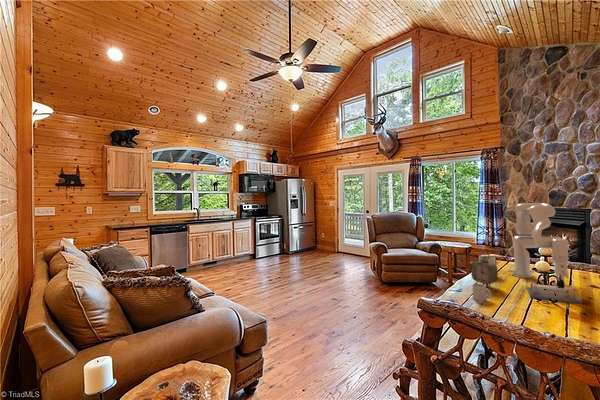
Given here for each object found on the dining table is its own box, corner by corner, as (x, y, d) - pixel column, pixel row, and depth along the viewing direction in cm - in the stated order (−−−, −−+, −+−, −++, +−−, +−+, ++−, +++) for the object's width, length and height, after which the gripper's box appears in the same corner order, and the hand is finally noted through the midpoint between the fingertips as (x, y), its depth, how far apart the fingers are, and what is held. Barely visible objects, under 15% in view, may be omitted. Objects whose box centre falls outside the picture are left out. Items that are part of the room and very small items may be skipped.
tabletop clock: (471, 284, 211) (470, 251, 210) (479, 282, 214) (478, 249, 214) (491, 290, 197) (490, 254, 197) (499, 288, 201) (498, 253, 200)
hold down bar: (533, 288, 185) (532, 285, 185) (532, 286, 189) (531, 283, 189) (578, 292, 174) (577, 289, 174) (576, 290, 178) (575, 286, 178)
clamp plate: (530, 297, 182) (530, 286, 182) (527, 289, 195) (526, 279, 195) (582, 304, 169) (581, 292, 169) (574, 295, 182) (574, 284, 182)
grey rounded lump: (474, 296, 188) (473, 283, 188) (492, 299, 182) (491, 285, 182) (471, 299, 183) (471, 286, 183) (490, 303, 176) (490, 288, 176)
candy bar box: (493, 274, 232) (493, 254, 232) (497, 276, 227) (496, 255, 227) (479, 274, 234) (478, 254, 234) (481, 276, 229) (481, 255, 229)
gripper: (571, 261, 171) (572, 292, 171) (565, 256, 184) (565, 284, 184) (554, 260, 175) (555, 290, 175) (549, 255, 188) (550, 283, 188)
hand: (560, 287), depth 180 cm, fingers closed
